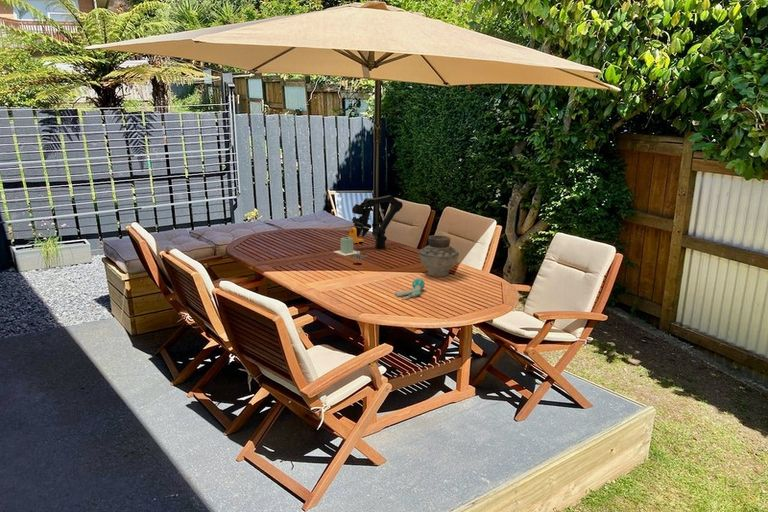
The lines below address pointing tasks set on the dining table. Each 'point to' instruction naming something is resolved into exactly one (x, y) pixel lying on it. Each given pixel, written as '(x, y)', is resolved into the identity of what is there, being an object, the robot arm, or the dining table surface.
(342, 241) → the sleeve
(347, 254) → the board
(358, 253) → the stand
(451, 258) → the ceramic pot
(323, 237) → the dining table surface
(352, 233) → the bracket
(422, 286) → the garden hose nozzle
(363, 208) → the robot arm
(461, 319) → the dining table surface
